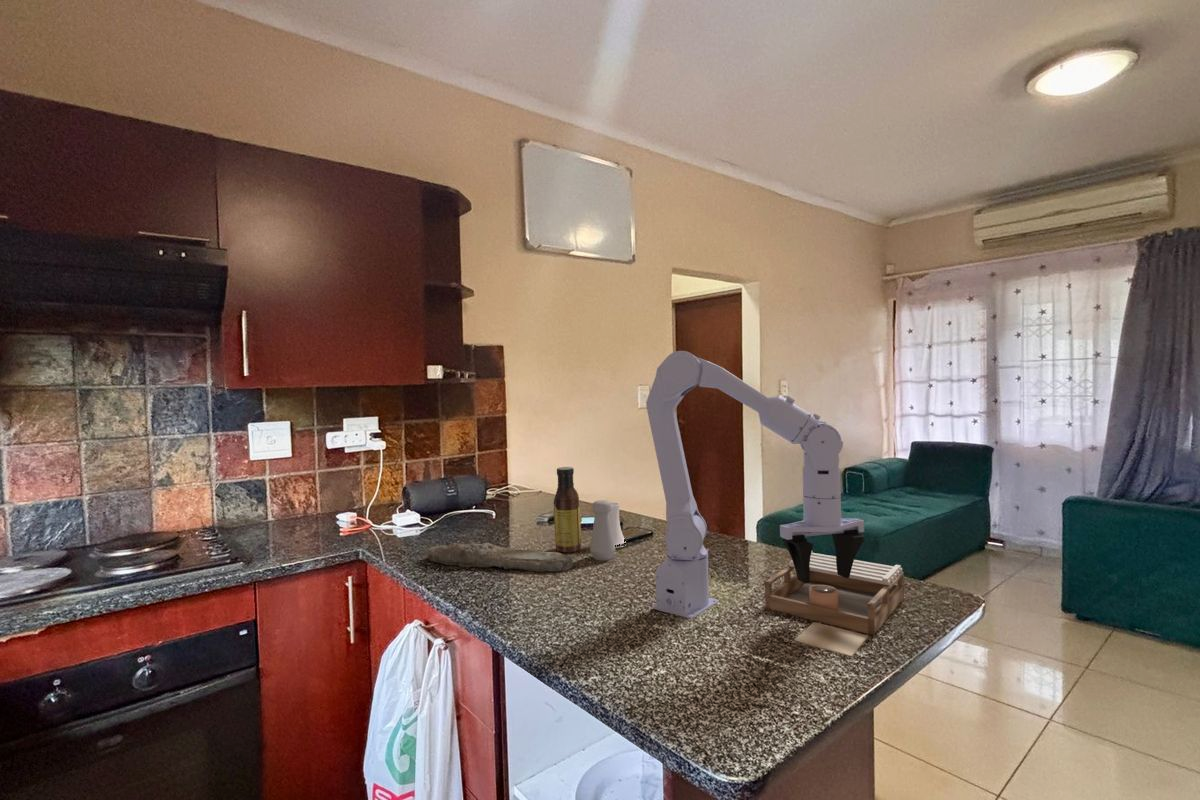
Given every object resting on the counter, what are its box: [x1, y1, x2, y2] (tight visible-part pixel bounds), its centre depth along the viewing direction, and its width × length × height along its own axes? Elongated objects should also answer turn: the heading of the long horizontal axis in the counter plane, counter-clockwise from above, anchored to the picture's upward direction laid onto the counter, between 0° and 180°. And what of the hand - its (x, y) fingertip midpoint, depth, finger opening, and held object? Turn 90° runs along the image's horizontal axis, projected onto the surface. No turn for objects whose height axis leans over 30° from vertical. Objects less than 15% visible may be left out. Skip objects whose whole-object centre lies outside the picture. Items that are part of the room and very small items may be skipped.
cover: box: [788, 550, 903, 585], centre depth 98 cm, size 9×17×1 cm, turn 49°
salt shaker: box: [589, 499, 616, 562], centre depth 125 cm, size 6×6×13 cm
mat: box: [794, 621, 869, 658], centre depth 81 cm, size 8×8×1 cm
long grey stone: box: [426, 542, 574, 573], centre depth 122 cm, size 35×5×10 cm
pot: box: [809, 585, 838, 610], centre depth 90 cm, size 4×4×4 cm
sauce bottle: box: [553, 466, 582, 554], centre depth 132 cm, size 7×6×20 cm
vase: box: [609, 502, 627, 549], centre depth 136 cm, size 8×8×10 cm
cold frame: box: [764, 566, 905, 636], centre depth 95 cm, size 19×17×5 cm
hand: (823, 578), depth 90 cm, fingers open, 7 cm apart
